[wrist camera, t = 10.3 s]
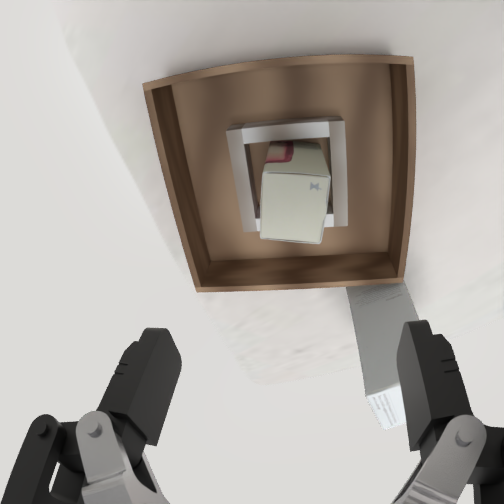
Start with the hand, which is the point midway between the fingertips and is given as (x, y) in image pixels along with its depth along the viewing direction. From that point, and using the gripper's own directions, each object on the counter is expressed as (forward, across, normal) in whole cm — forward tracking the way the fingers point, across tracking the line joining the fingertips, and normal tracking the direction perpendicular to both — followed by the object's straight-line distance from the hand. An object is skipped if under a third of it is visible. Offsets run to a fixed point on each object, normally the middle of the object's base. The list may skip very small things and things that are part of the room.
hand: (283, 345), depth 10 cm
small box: (+20, 0, +1) cm, 20 cm away
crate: (+20, 0, +1) cm, 20 cm away
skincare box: (+20, -8, +15) cm, 27 cm away
